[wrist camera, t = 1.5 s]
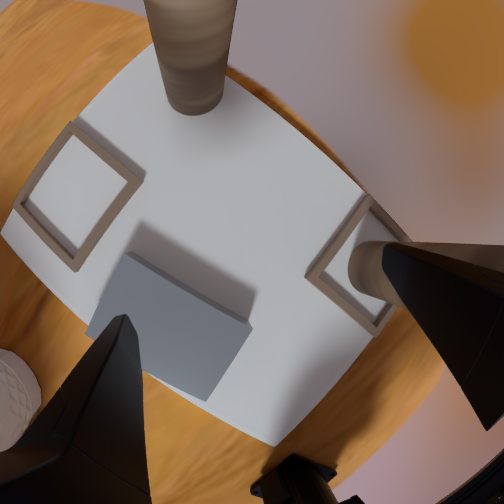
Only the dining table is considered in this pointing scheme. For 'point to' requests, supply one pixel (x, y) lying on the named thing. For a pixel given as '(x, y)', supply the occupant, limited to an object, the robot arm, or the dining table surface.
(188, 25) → the pin
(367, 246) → the pin
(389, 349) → the dining table surface
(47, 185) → the board
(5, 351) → the white cup
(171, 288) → the cover
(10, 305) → the dining table surface
